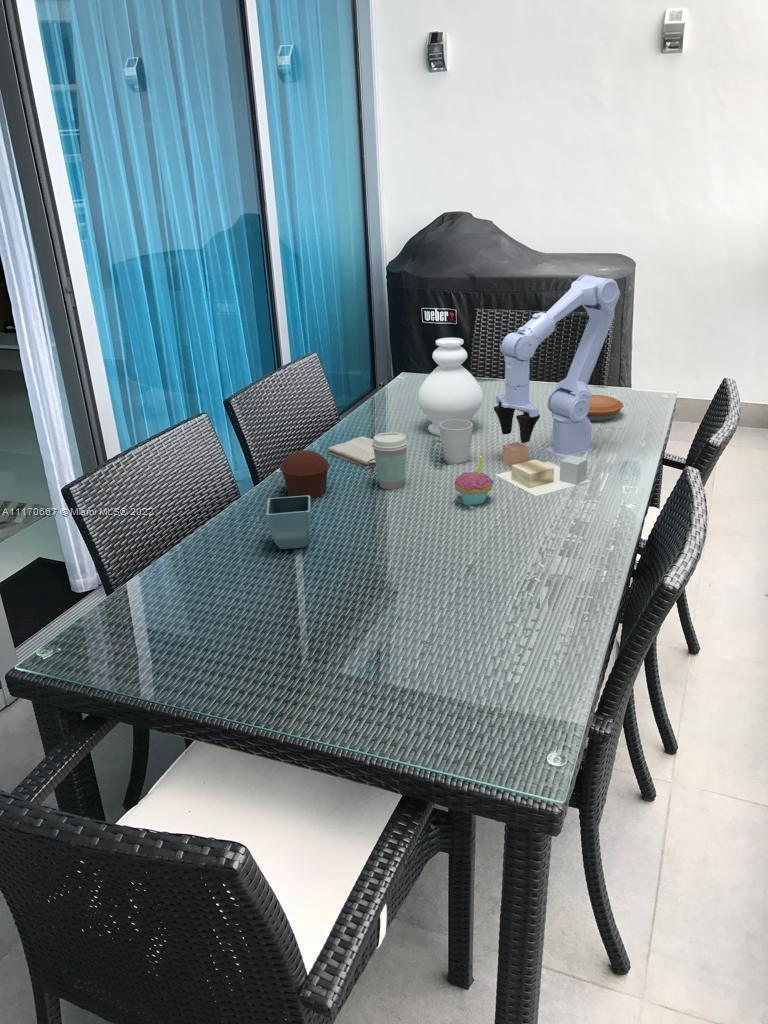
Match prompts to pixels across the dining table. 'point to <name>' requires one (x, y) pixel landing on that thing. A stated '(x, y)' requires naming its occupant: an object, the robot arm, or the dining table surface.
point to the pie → (603, 408)
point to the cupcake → (474, 486)
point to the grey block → (573, 469)
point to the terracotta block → (515, 453)
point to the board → (546, 487)
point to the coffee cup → (390, 458)
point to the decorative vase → (449, 387)
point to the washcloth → (355, 452)
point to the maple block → (532, 473)
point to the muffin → (305, 473)
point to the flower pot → (289, 521)
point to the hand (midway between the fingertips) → (515, 437)
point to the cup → (456, 440)
